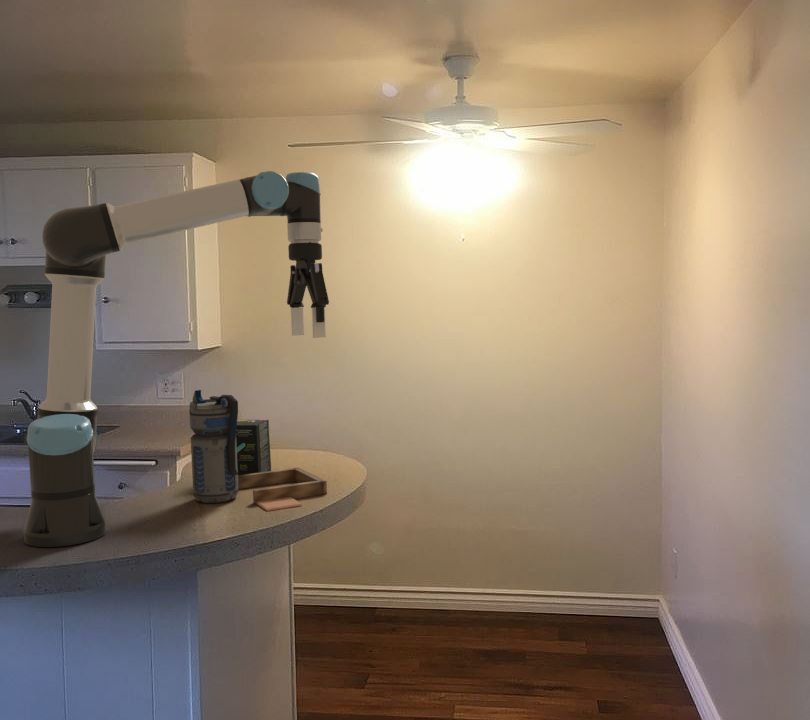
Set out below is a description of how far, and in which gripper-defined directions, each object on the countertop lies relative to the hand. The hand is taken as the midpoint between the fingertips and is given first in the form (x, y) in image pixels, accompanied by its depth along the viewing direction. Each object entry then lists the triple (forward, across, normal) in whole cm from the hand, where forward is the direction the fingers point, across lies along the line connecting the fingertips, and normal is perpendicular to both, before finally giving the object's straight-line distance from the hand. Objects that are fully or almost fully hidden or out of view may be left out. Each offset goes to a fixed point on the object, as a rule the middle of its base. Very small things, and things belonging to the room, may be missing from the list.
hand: (308, 336), depth 189 cm
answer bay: (+37, +8, +6) cm, 38 cm away
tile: (+37, -4, +10) cm, 38 cm away
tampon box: (+37, +26, +8) cm, 46 cm away
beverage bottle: (+37, +8, +20) cm, 43 cm away
